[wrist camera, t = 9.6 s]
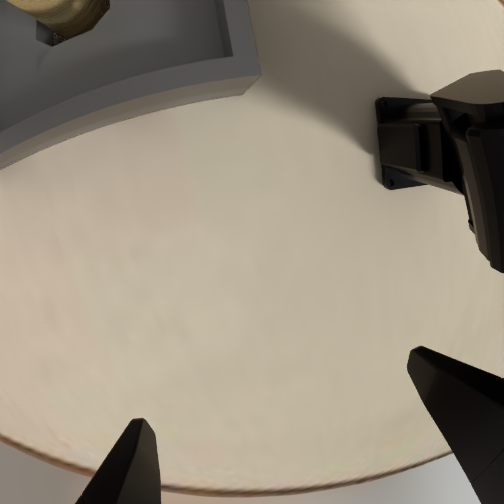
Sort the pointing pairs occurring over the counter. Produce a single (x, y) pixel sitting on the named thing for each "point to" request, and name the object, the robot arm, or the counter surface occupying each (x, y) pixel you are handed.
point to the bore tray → (118, 68)
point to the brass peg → (65, 14)
